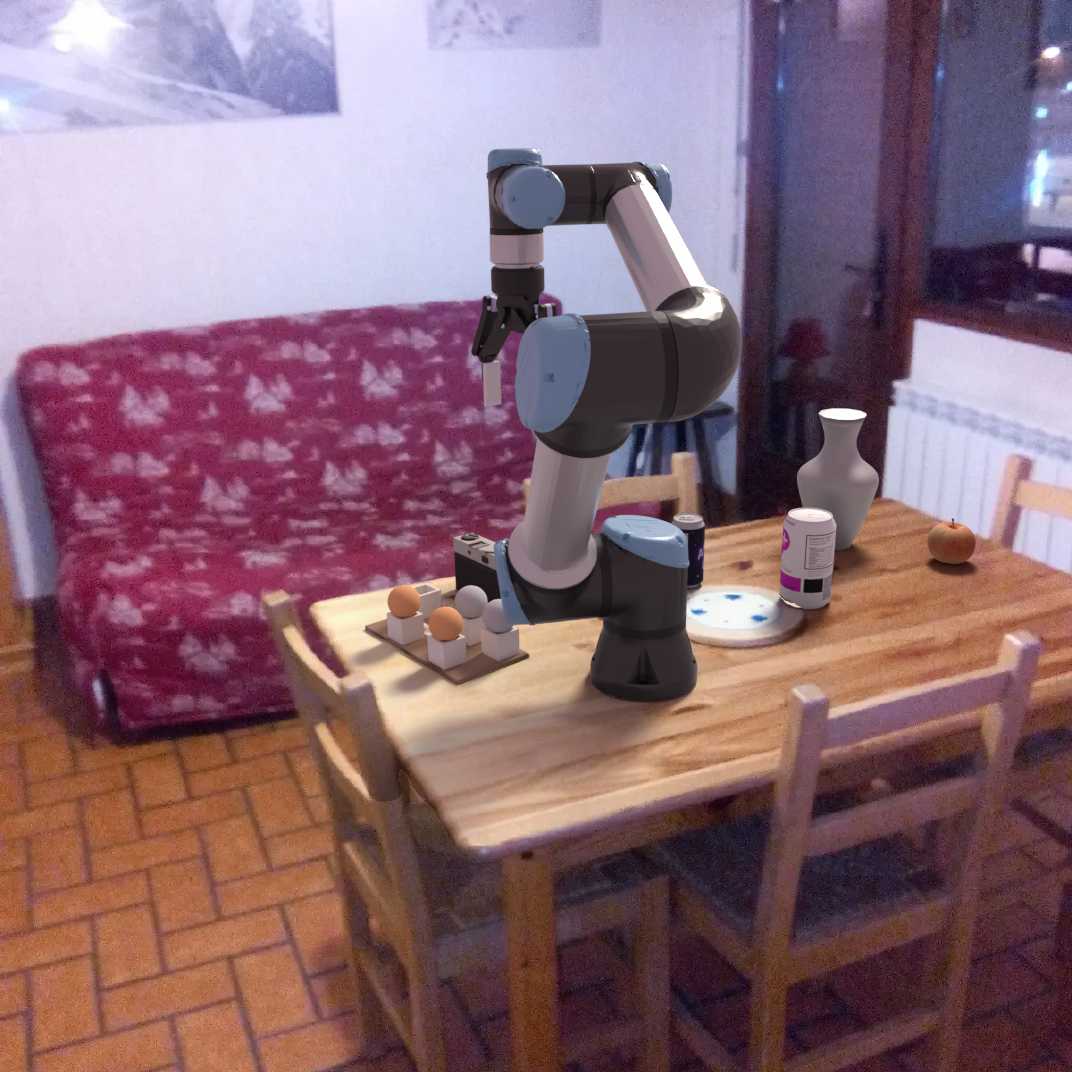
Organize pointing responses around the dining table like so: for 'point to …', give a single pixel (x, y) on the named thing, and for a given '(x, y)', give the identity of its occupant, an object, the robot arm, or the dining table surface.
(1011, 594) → the dining table surface
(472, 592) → the grey ball
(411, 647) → the rack board
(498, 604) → the grey ball
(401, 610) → the orange ball
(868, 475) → the vase
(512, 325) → the robot arm
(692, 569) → the beverage can
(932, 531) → the apple
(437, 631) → the orange ball
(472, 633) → the tubes
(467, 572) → the camera
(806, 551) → the supplement can
